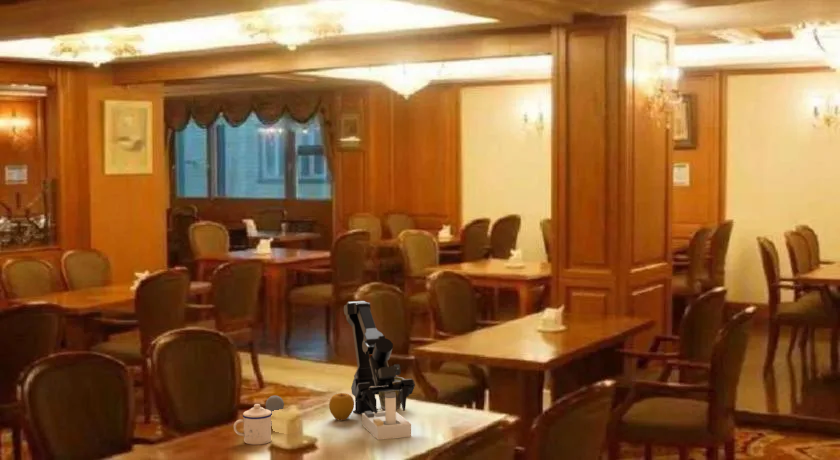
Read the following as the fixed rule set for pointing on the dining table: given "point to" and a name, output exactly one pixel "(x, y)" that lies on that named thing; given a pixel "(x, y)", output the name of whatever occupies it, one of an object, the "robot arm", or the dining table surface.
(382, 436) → the socket board
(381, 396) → the ceramic cup
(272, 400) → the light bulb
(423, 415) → the dining table surface
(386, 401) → the plug
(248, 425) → the teacup with lid
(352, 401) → the apple
